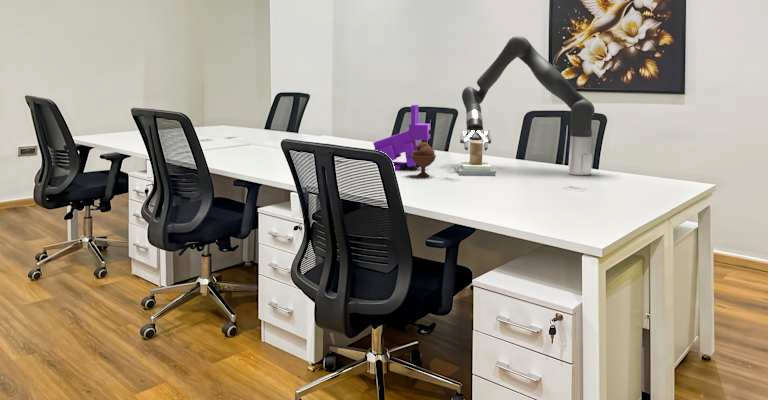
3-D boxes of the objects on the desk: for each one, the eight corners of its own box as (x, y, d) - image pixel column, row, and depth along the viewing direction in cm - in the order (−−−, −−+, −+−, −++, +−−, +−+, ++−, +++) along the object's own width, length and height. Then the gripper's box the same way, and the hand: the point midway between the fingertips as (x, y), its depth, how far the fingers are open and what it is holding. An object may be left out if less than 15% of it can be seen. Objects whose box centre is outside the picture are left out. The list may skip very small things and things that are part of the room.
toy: (427, 171, 296) (428, 106, 290) (369, 168, 303) (369, 105, 297) (432, 167, 310) (433, 104, 304) (376, 164, 316) (377, 103, 310)
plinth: (490, 170, 300) (490, 161, 299) (495, 175, 284) (495, 166, 284) (456, 169, 300) (456, 161, 300) (459, 175, 285) (459, 166, 284)
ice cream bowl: (405, 175, 283) (406, 142, 280) (423, 173, 290) (423, 140, 287) (422, 178, 275) (423, 144, 272) (440, 176, 282) (441, 142, 279)
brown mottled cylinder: (480, 163, 294) (481, 141, 292) (481, 165, 289) (482, 143, 287) (469, 163, 294) (470, 141, 292) (470, 164, 289) (471, 143, 287)
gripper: (459, 116, 296) (461, 144, 287) (490, 117, 295) (493, 144, 286) (458, 127, 302) (460, 154, 293) (488, 127, 302) (491, 154, 293)
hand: (476, 149), depth 290 cm, fingers open, 8 cm apart
